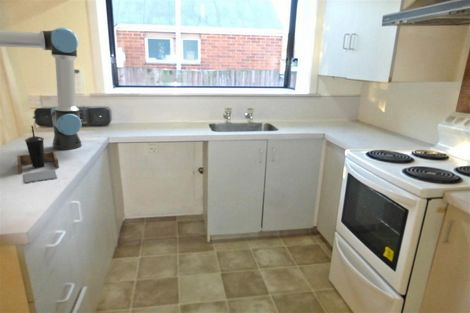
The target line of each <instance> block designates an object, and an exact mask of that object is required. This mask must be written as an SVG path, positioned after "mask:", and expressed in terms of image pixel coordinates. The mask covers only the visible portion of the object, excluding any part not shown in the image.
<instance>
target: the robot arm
mask: <svg viewBox="0 0 470 313" xmlns="http://www.w3.org/2000/svg"><path fill="white" fill-rule="evenodd" d="M78 46H79V40H78V36H77V35H76V33H74V31H72V30H71V29H69V28H66V27H57V28H55V29H53V30H41V31H39V32H34V31H31V32H30V31H16V30H14V31H13V30H0V47H1V48H2V47H3V48H4V47H5V48H7V47H8V48H9V47H10V48H29V49H30V48H37V49H38V48H39V49H42V50H44V51H51V52H50V53H51V56H52V57H53V58H54V60H55V61H54V62H55V76H56V78H55V80H56V94H57V106H56V107H54V108H51V110H50V115H51V120H52V127H53V134H54V135H53V140H52V149H54V150H56V151H57V150H58V151H67V150H75V149H77V148H78V149H79V148H81V147H82V141H81V139H80V137H79V135H78V132H80V131H81V128H82V120H81V116H80V108H79V107H77V99H76V98H77V97H76V77H75V76H76V74H75V73H76V72H75V60H76V59H77V58H78V52H77V51H78V50H77V49H78Z"/></svg>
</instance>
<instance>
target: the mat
mask: <svg viewBox="0 0 470 313" xmlns="http://www.w3.org/2000/svg"><path fill="white" fill-rule="evenodd" d="M23 178H24V184H25V183H26V184H31V183H30V182H32V183H36V182H35V181H39V182H42V181H41V180H45V181H48V180H47V179H51V180H54V179H53V178H57V179H58V175H57V174H56V170H55V169H54V168H53V169H47V170H41V171H34V172H28V173H24V176H23Z"/></svg>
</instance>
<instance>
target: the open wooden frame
mask: <svg viewBox="0 0 470 313" xmlns="http://www.w3.org/2000/svg"><path fill="white" fill-rule="evenodd" d="M47 162H48V163H49V162H54V164H55V168H56V169H59V168H60V165H59V160H58V156H57V153H56V151H48V152H47V151H46V152H44V163H47ZM16 163H17V169H18V174H20V175H21V174H22V173H23V171H22V170H23V168H22V165H25V166H26V165H29V164H31V165H32V162H31V159H30V155H29V154H22V155H21V154H19V155H17V162H16Z"/></svg>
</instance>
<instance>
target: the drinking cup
mask: <svg viewBox="0 0 470 313" xmlns="http://www.w3.org/2000/svg"><path fill="white" fill-rule="evenodd" d="M30 127H31V134H32V136H29V137H27V138H26V139H24V142H25V145H26V147H27V150H28V155H30V159H31V162H32V164H31V165H32V168H33V169H41V168H45V162H44V153H45V151H44V150H45V148H44V140H45V138H44V137H41V136H37V135H36V136H35V130H34V125H31V126H30Z"/></svg>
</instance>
